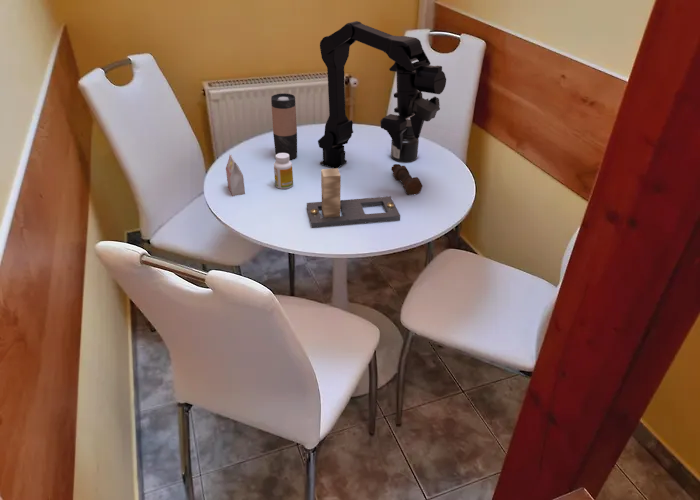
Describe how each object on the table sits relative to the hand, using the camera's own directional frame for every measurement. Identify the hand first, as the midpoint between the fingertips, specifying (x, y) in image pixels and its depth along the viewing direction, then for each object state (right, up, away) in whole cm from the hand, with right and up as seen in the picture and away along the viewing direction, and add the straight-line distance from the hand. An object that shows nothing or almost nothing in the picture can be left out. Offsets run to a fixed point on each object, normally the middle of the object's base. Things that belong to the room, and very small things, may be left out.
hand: (408, 143), depth 152 cm
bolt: (0, -10, +11) cm, 15 cm away
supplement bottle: (-36, -11, +9) cm, 39 cm away
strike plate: (-16, -20, -5) cm, 26 cm away
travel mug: (-38, +1, +26) cm, 46 cm away
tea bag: (-50, -13, +6) cm, 52 cm away
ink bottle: (+1, +1, +27) cm, 27 cm away
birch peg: (-22, -21, -6) cm, 31 cm away
